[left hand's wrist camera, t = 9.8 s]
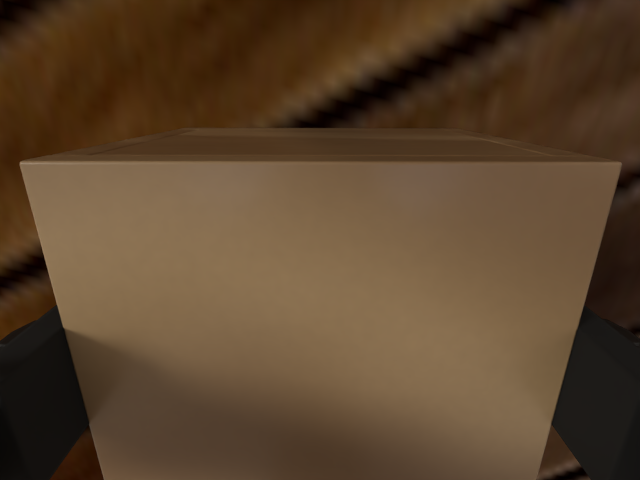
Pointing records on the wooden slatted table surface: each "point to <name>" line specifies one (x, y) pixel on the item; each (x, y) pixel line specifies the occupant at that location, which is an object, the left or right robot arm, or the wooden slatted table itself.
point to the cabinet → (320, 298)
